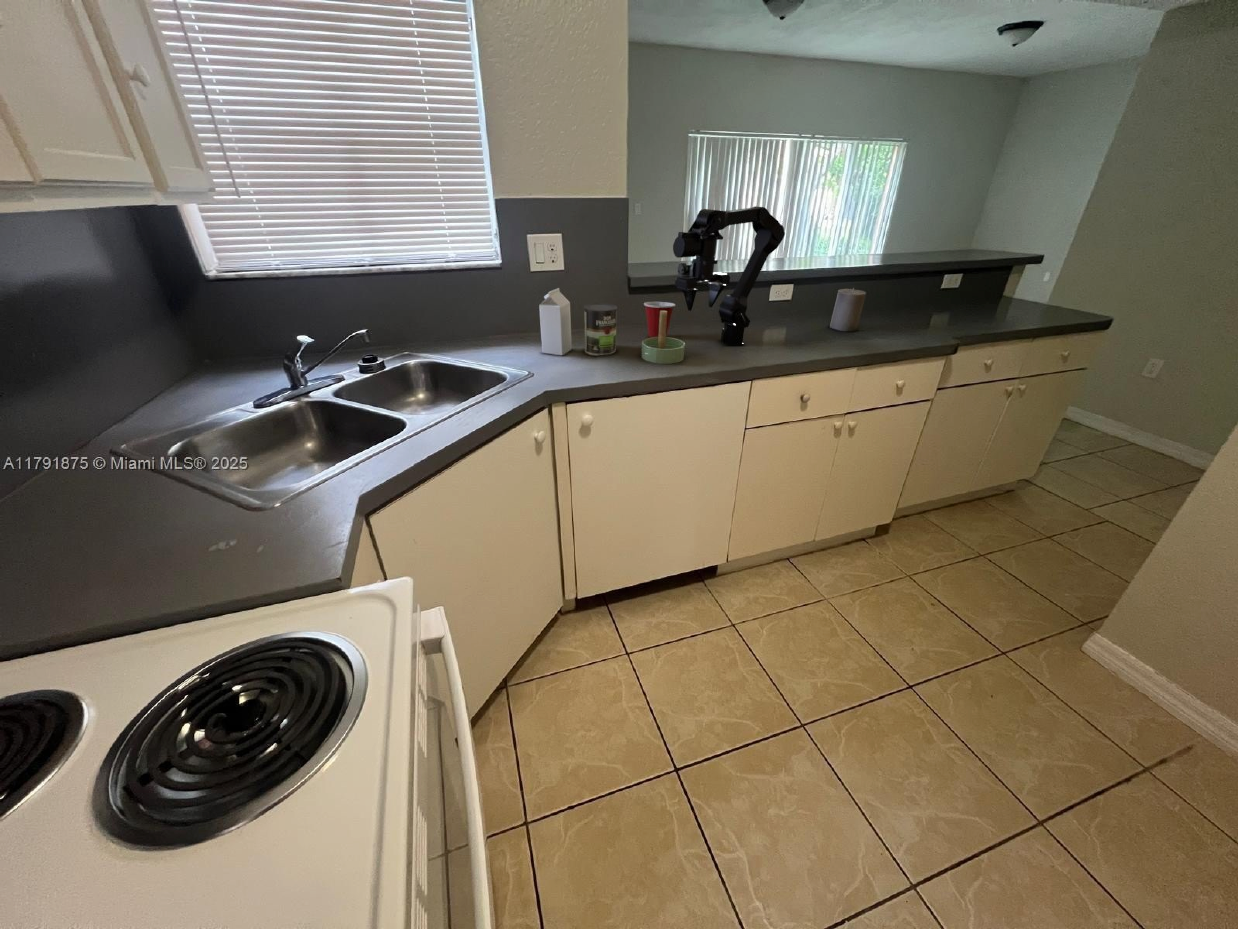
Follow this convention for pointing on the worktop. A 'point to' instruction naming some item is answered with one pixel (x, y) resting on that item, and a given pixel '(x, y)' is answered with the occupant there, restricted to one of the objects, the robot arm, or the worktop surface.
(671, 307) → the plastic cup
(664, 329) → the stick
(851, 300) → the pillar candle
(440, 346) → the worktop surface
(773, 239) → the robot arm
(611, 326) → the coffee can
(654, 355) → the bowl
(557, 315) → the milk carton
